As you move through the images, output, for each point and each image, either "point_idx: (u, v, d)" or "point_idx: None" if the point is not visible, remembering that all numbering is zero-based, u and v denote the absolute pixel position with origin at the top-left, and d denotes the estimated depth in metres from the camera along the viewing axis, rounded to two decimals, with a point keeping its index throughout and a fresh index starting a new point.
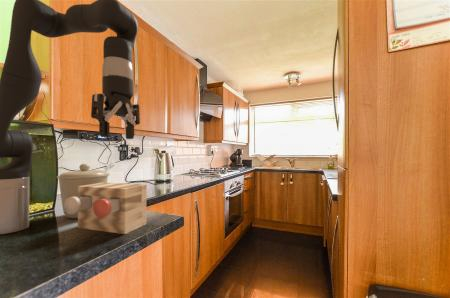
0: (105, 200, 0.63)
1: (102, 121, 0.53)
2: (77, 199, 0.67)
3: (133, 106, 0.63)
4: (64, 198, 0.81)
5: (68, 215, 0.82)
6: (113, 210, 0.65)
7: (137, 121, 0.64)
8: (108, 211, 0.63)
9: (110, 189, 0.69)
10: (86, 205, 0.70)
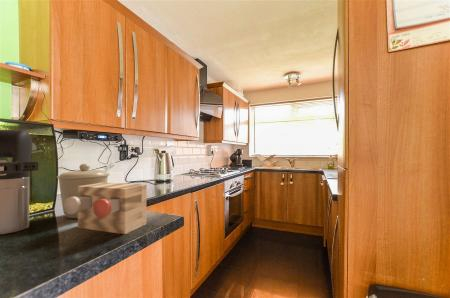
0: (105, 200, 0.63)
1: None
2: (77, 199, 0.67)
3: None
4: (64, 198, 0.81)
5: (68, 215, 0.82)
6: (113, 210, 0.65)
7: None
8: (108, 211, 0.63)
9: (110, 189, 0.69)
10: (86, 205, 0.70)
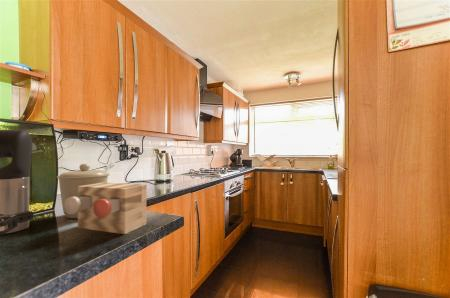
0: (105, 200, 0.63)
1: None
2: (77, 199, 0.67)
3: None
4: (64, 198, 0.81)
5: (68, 215, 0.82)
6: (113, 210, 0.65)
7: None
8: (108, 211, 0.63)
9: (110, 189, 0.69)
10: (86, 205, 0.70)
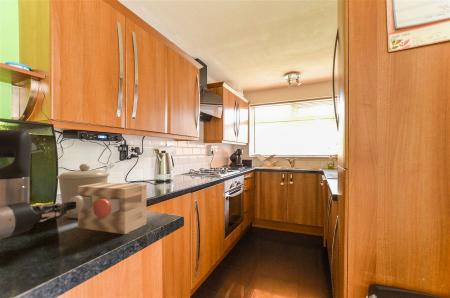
0: (105, 200, 0.63)
1: None
2: (81, 198, 0.68)
3: None
4: (64, 198, 0.81)
5: (68, 215, 0.82)
6: (113, 210, 0.65)
7: None
8: (108, 211, 0.63)
9: (110, 189, 0.69)
10: (90, 204, 0.71)
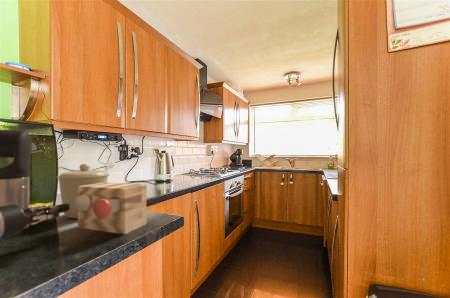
0: (105, 200, 0.63)
1: None
2: (88, 197, 0.70)
3: None
4: (64, 198, 0.81)
5: (68, 215, 0.82)
6: (113, 210, 0.65)
7: None
8: (108, 211, 0.63)
9: (110, 189, 0.69)
10: None
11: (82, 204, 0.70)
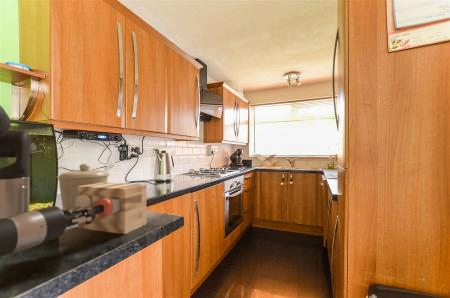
0: (107, 200, 0.64)
1: None
2: (88, 197, 0.70)
3: None
4: (64, 198, 0.81)
5: None
6: (115, 209, 0.66)
7: None
8: (110, 210, 0.63)
9: (110, 189, 0.69)
10: None
11: (82, 204, 0.70)
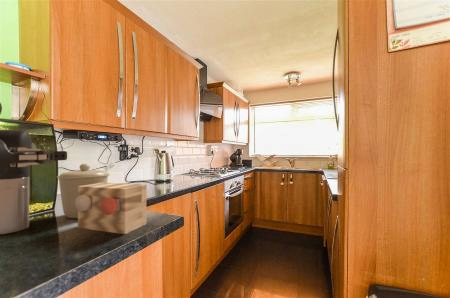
0: (112, 198, 0.65)
1: None
2: (88, 197, 0.70)
3: None
4: (64, 198, 0.81)
5: (68, 215, 0.82)
6: (119, 208, 0.67)
7: None
8: (115, 209, 0.65)
9: (110, 189, 0.69)
10: None
11: (82, 204, 0.70)
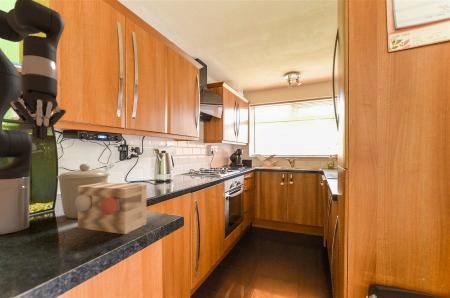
0: (112, 198, 0.65)
1: (34, 125, 0.57)
2: (88, 197, 0.70)
3: (59, 109, 0.63)
4: (64, 198, 0.81)
5: (68, 215, 0.82)
6: (119, 208, 0.67)
7: (51, 121, 0.61)
8: (115, 209, 0.65)
9: (110, 189, 0.69)
10: None
11: (82, 204, 0.70)
